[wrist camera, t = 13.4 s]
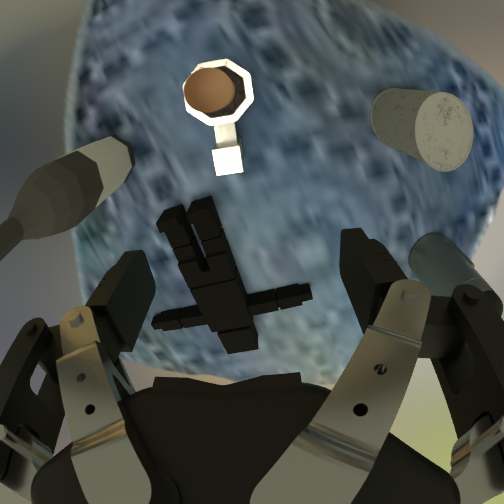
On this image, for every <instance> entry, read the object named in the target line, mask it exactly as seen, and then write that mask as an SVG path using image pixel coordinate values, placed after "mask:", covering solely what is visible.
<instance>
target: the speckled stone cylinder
mask: <svg viewBox="0 0 504 504" xmlns="http://www.w3.org/2000/svg"><path fill="white" fill-rule="evenodd" d="M370 118H371V125H372V128H373V130H374V132H375V134H376V136H377V137H378V138H379V139H380V141H381V142H383V143H384V144H385V145H387V146H389V147H392V148H395V149H397V150H399V151H401V152H403V153H405V154H408V155H410V156H412V157H414V158H416V159H418V160H420V161H421V162H423V163H425V164H427V165H429V166H430V167H431V168H433V169H435V170H437V171H442V172H447V171H452V170H454V169H457V168H458V167H459V166H460V165H462V164H463V162H464V161H465V160H466V159H467V157H468V155H469V153H470V151H471V147H472V144H473V124H472V119H471V117H470V114H469V112H468V110H467V108H466V106H465V105H464V104H463V103H462V102H461V100H460V99H458V98H457V97H456V96H454V95H452V94H450V93H447V92H433V91H423V90H410V89H399V88H390V89H387V90H384V91H383V92H381V93H380V94H379V95H378V96H377V97H376V98H375V100H374V102H373V104H372V107H371V114H370Z"/></svg>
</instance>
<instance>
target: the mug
mask: <svg viewBox="0 0 504 504" xmlns="http://www.w3.org/2000/svg"><path fill="white" fill-rule="evenodd" d="M207 67H211V68H216V69H219V70H221V71H223V72H224V73H225V74H226V75H227V76H228V77H229V78H230V79H231V80H232V81H233V82H234V84H235V85H236V88H237V96H236V98H235V100H234V101H233V102H232V103H231V104H230V105H228V106H226V107H224V108H222V109H219V110H217V111H214V112H209V113H204V112H199V111H196V110H195V109H193V108H192V107H190V106H189V104H188V103H187V102H186V100H185V104H186V110H188V111H187V112H189V113H190V114H192V115H193V116H195V117H197V118H198V119H200V120H201V121H203V122H204V123H206V124H207V125H210V126H211V125H214V130H215V136H216V142H217V143H216V145H215V147H214V148H213V150H212V153H213V158H214V164H215V169H216V175H217V176H218V175H224V174H231V173H238V172H243V163H244V155H243V148H242V141H241V136H239V137H237V132H236V126H235V122H236V121H237V120H238V119H239V118H240V117H241V115H242V114H243V113H244V112H245V110H246V109H247V108H248V107H249V105H250V104H251V103H252V102H253V101H254V100H253V99H254V96H253V89H252V82H251V76H250V73H248V72H247V71H245V70H244V69H242V68H241V67H239V66H238V65H236V64H235V63H233V62H232V61H230V60H229V59H222V60H216V61H210V62H205V63H200V65H199V64H198V65H197V67H196V68H195V69H194V71H193V72H192V73H194V72H195V71H197V70H199V69H202V68H207ZM192 73H191V74H192ZM185 83H186V81H185ZM185 83H184V84H183V86H182V87H183V93H184V85H185ZM184 99H185V97H184Z"/></svg>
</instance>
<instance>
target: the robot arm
mask: <svg viewBox="0 0 504 504" xmlns="http://www.w3.org/2000/svg"><path fill="white" fill-rule="evenodd" d="M409 265H410V268H411V269H412V271H413V272H414V274H415V275H416V276H417V278H418V279H419V280H420V282H421V283H420V282H418V281H415V280H410V279H408V278H407V277H406V275H405V274H404V272H403V271H402V270H401V268H400V267H399V265H398V264H397V262H396V261H395V260H394V258H393V257H392V256H391V254H389V251H388V250H387V249H386V247H385V246H384V245H383V244H382V243H380V242H378V241H377V240H375V239H369V238H368V237H367V236H366V234H365V233H364V231H363V230H362V229H361V228H351V229H342V231H341V242H340V262H339V267H340V275H341V279H342V281H343V284H344V286H345V288H346V291H347V293H348V296H349V298H350V301H351V303H352V306H353V308H354V311H355V313H356V316H357V319H358V321H359V324H360V327H361V329H362V332H363V337H362V339H361V341H360V343H359V345H358V346H357V348H356V350H355V352H354V354H353V356H352V357H351V359H350V361H349V363H348V364H347V366H346V368H345V370H344V371H343V373H342V375H341V376H340V378H339V380H338V381H337V383H336V385H335V387H334V388H333V389H332V391H331V390H329V389H327V388H325V387H321V386H318V385H314V384H309V383H302V382H301V375H300V372H296V373H287V374H276V375H263V376H259V377H256V378H252V379H248V380H244V381H241V382H237V383H233V384H229V385H217V384H213V383H208V382H203V381H199V380H195V379H191V378H177V377H155V379H154V383H153V387H150V388H146V389H143V390H140V391H138V392H136V391H135V389H134V387H133V385H132V383H131V381H130V379H129V377H128V374H127V372H126V370H125V368H124V365H123V363H122V361H121V359H120V357H119V354H120V352H132V351H133V348H134V345H135V343H136V340H137V338H138V335H139V332H140V330H141V327H142V325H143V322H144V320H145V317H146V315H147V312H148V310H149V307H150V305H151V302H152V300H153V298H154V295H155V290H156V286H155V281H154V278H153V275H152V272H151V269H150V266H149V264H148V261H147V258H146V255H145V253H144V251H143V250H134V251H126V252H124V254H123V255H122V256H121V258H120V259H119V261H118V262H117V264H115V265H114V266H113V267H112V268H111V269H109V270H108V271H107V272H106V274H105V275H104V277H103V278H102V280H101V281H100V283H99V284H98V287H96V289H95V290H94V292H93V294H92V295H91V297H90V298H89V300H88V301H87V303H86V305H85V306H79V307H76V308H74V309H72V310H70V311H68V312H67V313H66V314H65V315H64V316H63V318H62V320H61V321H60V325H56V326H53V327H48V326H47V324H46V323H45V321H44V320H43V319H42V318H34V319H32V320H30V321H28V322H27V323H26V324H25V325H24V326H23V328H22V329H21V330H20V332H19V333H18V335H17V337H16V339H15V340H14V342H13V344H12V345H11V347H10V349H9V350H8V352H7V354H6V356H5V358H4V360H3V361H2V363H1V365H0V486H1V487H3V488H5V489H7V490H9V491H10V492H12V493H15V494H18V495H20V496H22V497H24V498H26V499H28V500H30V501H31V502H32V504H482V503H484V502H485V501H487V500H489V499H491V498H493V497H495V496H497V495H499V494H501V493H503V492H504V321H503V319H502V318H501V315H502V312H503V304H502V301H501V299H500V298H499V296H498V295H497V294H496V293H495V292H494V290H493V289H492V288H491V287H490V286H489V285H488V283H487V282H486V281H485V280H484V279H483V278H482V277H481V276H480V274H479V273H478V272H477V271H476V270H475V269H474V264H473V262H472V261H471V260H470V259H469V258H468V257H467V256H466V255H465V254H464V253H463V252H462V251H461V250H460V249H459V248H458V247H457V246H456V245H455V244H454V243H453V242H452V241H451V240H450V239H449V238H444V237H443V236H442V235H440V234H438V233H430V234H428V235H425V236H424V237H422V238H421V239H420V240H419V241H418V242H417V243H416V244H415V246H414V247H413V249H412V251H411V253H410V257H409ZM417 358H430V359H431V361H432V364H433V367H434V369H435V372H436V374H437V377H438V380H439V382H440V385H441V388H442V391H443V393H444V396H445V399H446V402H447V405H448V408H449V411H450V414H451V417H452V420H453V424H454V427H455V431H456V434H457V438H458V440H457V441H456V443H455V444H454V446H453V449H452V454H451V472H450V474H449V473H448V472H447V471H445V470H444V469H442V468H441V467H439V466H438V465H436V464H435V463H433V462H431V461H430V460H429V459H427V458H426V457H424V456H423V455H421V454H420V453H418V452H417V451H415V450H414V449H412V448H411V447H410V446H408V445H407V444H405V443H404V442H403V441H401V440H400V439H398V438H397V437H396V436H394V435H393V434H391V433H390V432H389V431H390V428H391V426H392V424H393V422H394V420H395V417H396V415H397V412H398V410H399V408H400V405H401V403H402V400H403V398H404V395H405V393H406V390H407V387H408V385H409V382H410V379H411V376H412V373H413V370H414V367H415V364H416V361H417ZM37 363H38V364H39V365H40V366H41V368H42V369H43V370H44V371H45V372H46V376H45V378H44V381H43V383H42V385H41V388H40V390H39V393H38V395H36V394H35V393H34V392H33V391H32V390H31V387H30V378H31V376H32V374H33V372H34V369H35V368H36V365H37ZM65 414H66V419H67V422H68V426H69V430H70V434H71V438H72V441H73V442H71V443H70V444H69V445H68V446H66V447H65V448H64V449H63V450H61V451H60V452H59V453H58V454H56V455H55V456H54V457H53V454H54V449H55V446H56V442H57V439H58V435H59V432H60V429H61V425H62V422H63V419H64V416H65Z"/></svg>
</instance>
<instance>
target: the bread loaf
mask: <svg viewBox="0 0 504 504" xmlns="http://www.w3.org/2000/svg"><path fill="white" fill-rule="evenodd" d="M236 96H237V88H236V85H235V84H234V82H233V81H232V80H231V79H230V78H229V77H228V76H227V75H226V74H225V73H224V72H223V71H221V70H219V69H216V68H211V67H207V68H202V69H199V70H197V71H195V72H194V73H192V74H191V75H190V76H189V77H188V79H187V80H186V83H185V85H184V97H185V100H186V102H187V103H188V104H189V106H190V107H192V108H193V109H195V110H196V111H199V112H204V113H209V112H214V111H217V110H219V109H222V108H224V107H226V106H228V105H230V104H231V103H232V102H233V101H234V100H235V98H236Z"/></svg>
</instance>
